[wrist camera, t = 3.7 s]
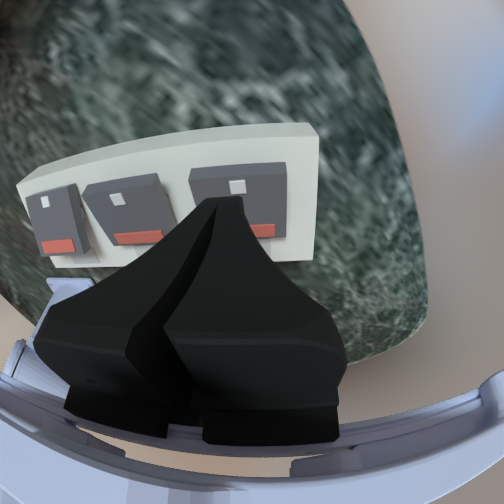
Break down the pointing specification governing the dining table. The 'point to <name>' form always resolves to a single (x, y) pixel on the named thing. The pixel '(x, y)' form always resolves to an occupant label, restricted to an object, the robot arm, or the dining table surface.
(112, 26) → the dining table surface
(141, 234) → the rocker
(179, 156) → the power strip
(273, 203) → the rocker
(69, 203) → the rocker
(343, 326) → the dining table surface
